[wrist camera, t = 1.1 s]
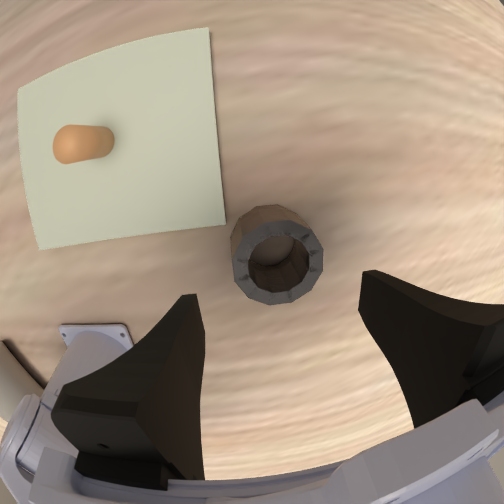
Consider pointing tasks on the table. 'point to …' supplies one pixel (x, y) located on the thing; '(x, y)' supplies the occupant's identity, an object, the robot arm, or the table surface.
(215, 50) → the table surface
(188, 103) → the pegged green plate
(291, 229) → the collar
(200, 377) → the robot arm
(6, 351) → the bent grey cylinder
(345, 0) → the table surface
